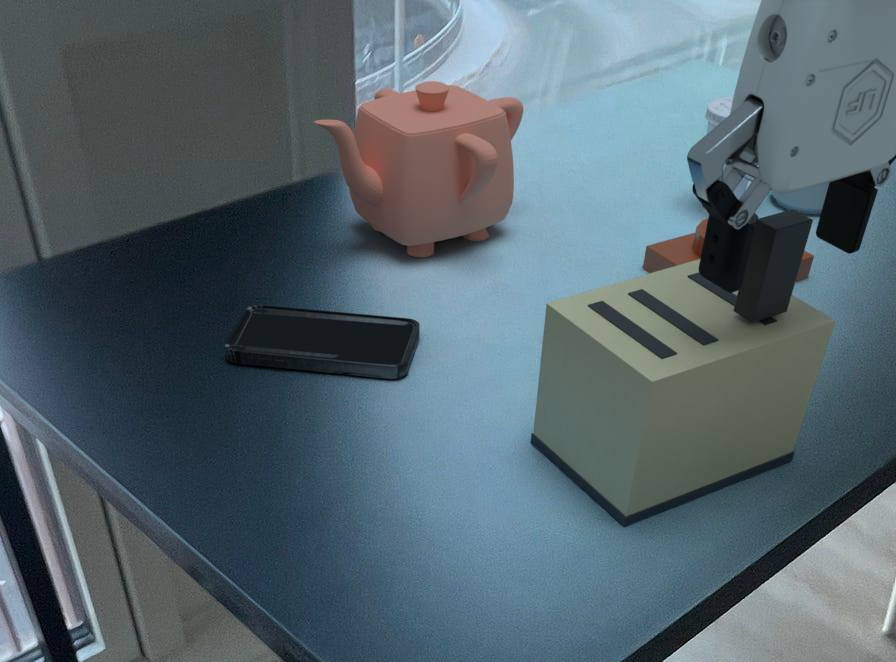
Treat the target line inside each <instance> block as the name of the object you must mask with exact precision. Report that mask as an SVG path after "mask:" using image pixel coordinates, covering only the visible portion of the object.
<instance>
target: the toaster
mask: <svg viewBox="0 0 896 662" xmlns="http://www.w3.org/2000/svg"><path fill="white" fill-rule="evenodd" d="M699 264H700V259H698V260H695V261H691V262H688V263H684V264H681V265H677V266H674V267H671V268H667V269H664V270H660V271H657V272H653V273H647V274H642V275H640V276H635V277H633V278H629V279H626V280H622V281H619V282H616V283H611V284H609V285H605V286H600V287H598V288H594V289H591V290H588V291H587V290H586V291H584V292H581V293H577V294H573V295H570V296H566V297H563V298H560V299H556V300H552V301H548V302H546V306H545V315H544V324H543V325H544V326H543V334H542V342H541V343H542V345H541V355H540V363H539V372H538V373H539V374H538V383H537V384H538V385H537V391H536V403H535V413H534V421H533V422H534V423H533V431H532V432H531V433H530V443H531V445H533V446H534V447H535V448H536V449H538V451H539V452H540V453H542V454H543V455H544V456H545V457H546V458H547V459H548V460H550V461H551V463H553V464H554V465H555V466H556V467H557V468H559V469H560V470H561V471H562V472H563V473H564V474H565V475H566V476H567V477H569V479H571V480H572V482H574V483H575V484H576V485H577V486H578V487H579V488H581V489H582V490H583V491H584V492H585V493H586V494H587V495H588V496H589V497H590V498H592V500H594V501H595V502H596V503H597V504H598V505H599V506H601V508H603V509H604V511H606V512H607V513H608V514H609V515H610V516H612V518H614V519H615V520H616V521H617V522H618V523H619V524H620V525H621V526H622V527H627V526H629V525H631V524H635V523H637V522H640V521H642V520H645V519H647V518H650V517H652V516H654V515H657V514H660V513H662V512H664V511H667V510H670V509H672V508H674V507H678V506H680V505H683V504H685V503H688V502H690V501H693V500H696V499H698V498H700V497H703V496H706V495H708V494H711V493H713V492H715V491H718V490H721V489H724V488H726V487H728V486H731V485H734V484H737V483H739V482H741V481H743V480H746V479H750V478H751V477H754V476H756V475H760V474H761V473H765V472H767V471H770V470H772V469H775V468H777V467H779V466H782V465H785V464H787V463H790V462H792V461H793V458H794V456H795V451H794V449H795V446H796V442H797V440H798V437H799V434H800V430H801V428H802V425H803V422H804V418H805V416H806V412H807V409H808V407H809V403H810V400H811V397H812V394H813V391H814V388H815V385H816V381H817V379H818V376H819V373H820V370H821V366H822V364H823V360H824V357H825V354H826V352H827V348H828V345H829V342H830V339H831V336H832V333H833V330H834V327H835V325H836V321H837V320H836V319H834V318H833V317H831V316H830V315H828V314H826V313H825V312H822V311H821V310H820V309H817V308H816V307H814V306H812V305H811V304H809V303H807V302H806V301H804V300H802V299H800V298H799V297H797V296H795V295H794V294H792V295H791V299H790V302H789V306H788V309H787V312H784V313H781V314H778V315H775V316H772V317H769V318H766V319H763V320H760V321H757V322H753V323H752V322H750V321H748V320H747V319H745V318H744V317H742V316H740V315H739V314H737V313H736V312H734V306H735V302H736V298H737V294H738V291H736V292H733V293H729V292H727V291H725V290H724V289H722V288H720V287H719V286H717V285H715V284H714V283H712V282H711V281H709V280H707V279H706V278H704V277H702V276H701V275H700V273H699Z"/></svg>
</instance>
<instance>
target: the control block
mask: <svg viewBox="0 0 896 662" xmlns="http://www.w3.org/2000/svg"><path fill="white" fill-rule="evenodd" d="M707 223H708V218H704V219H702V220H701V221H700V222H699V223H698V225H696V227H695V232H692V233H689V234H684V235H681V236H677V237H674V238H670V239H667V240H663V241H660V242H656V243H652V244H648V245H646V246H645V251H644V257H643V262H642V263H643V264H642V269H643V270H644V271H646V272H647V273H648V274H650V273H653V272H657V271H660V270H664V269H667V268H671V267H674V266H677V265H681V264H684V263H688V262H691V261H695V260H698V259H700V258H701V253H702V248H703V243H704V238H705V233H706V228H707ZM814 258H815V255H814V254H812V253H810V252H808V251H806V250H804V254H803V257H802V260H801V264H800V267H799V271H798V274H797V278H796V281H795V283H797V282H800V281H801V282H802V281H804V280H807V279H808V278H809V276H810V272H811V268H812V265H813V261H814Z"/></svg>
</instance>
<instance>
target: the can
mask: <svg viewBox="0 0 896 662" xmlns="http://www.w3.org/2000/svg"><path fill="white" fill-rule="evenodd" d="M828 186H829V182H828V183H825V184H821V185H818V186H814V187H811V188H808V189H804V190H800V191H796V192H792V193H780V192H777V191H775V190H773V189H772V190H771V191H770V194H771V195H772V197H773V198H774V199H775V201H776V203H777V204H778V205H779V206H780V207H781V208H783V209H785V210H786V211H788V210H791V209H793V210H795V211H797V212H799V213H801V214H803V215H821V211H822V208H823V204H824V200H825V197H826V193H827V190H828Z"/></svg>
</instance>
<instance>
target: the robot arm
mask: <svg viewBox="0 0 896 662" xmlns="http://www.w3.org/2000/svg"><path fill="white" fill-rule="evenodd" d="M732 97H733V101H732V106H731V111H730V115H729V116H728V117H727V118H725V119H724V120H723V121H722V122H721V123H720V124H718V125H717V126H716V127H715V128H714V129H712V130H711V131H710V132H709V133H708V134H707V133H706V134H705V135H704V136H702V138H701V139H699V140H698V141H697V142H696V143H695V144H694V145H692V146H691V147H690V149H689V150H688V152H687V156H686V160H687V166H688V169H689V174H690V177H691V181H692V183H693V184H692V188H691V190H692V193H693V195H694V196H695V197H696V199H697V200H698V201H699V202H700V205H701V204H702V210H703V211H704V212H706V213H708V214H709V215H708V214H707V215H708V218H707V219H708V223H707V228H706V233H705V238H704V243H703V248H702V253H701V258H700V264H699V273H700V275H701V276H702V277H704V278H706V279H707V280H709V281H711V282H712V283H714V284H715V285H717V286H719V287H720V288H722V289H724V290H725V291H727V292H729V293H733V292H736V291H738V290H740V288H741V286H742V283H743V279H744V274H745V270H746V266H747V261H748V257H749V253H750V248H751V244H752V240H753V235H754V228H755V227H753V226H751V225H750V224H748V223H747V222H748V221H749V220H750V218H751V217H752V216H753V214H754V213H755V214H756V211H758V209H759V208H760V206H761V205H762V204H763V202H764V201H765V199H766V198H767V196H768V195H769V194H770V193H771V190H772V189H773V190H775V191H777V192H780V193H792V192H796V191H800V190H804V189H808V188H811V187H814V186H818V185H821V184H825V183H828V182H829V186H828V190H827V193H826V197H825V200H824V204H823V208H822V211H821V214H819V219H818V223H817V226H816V230H815V236H816V237H817V238H818V239H819V240H822V241H824V242H825V243H827V244H829V245H831V246H833V247H835V248H837V249H839V250H841V251H843V252H844V253H846V254H848V255H849V254H853V253H856V252H859V250H860V248H861V247H862V242H863V239H864V237H865V233H866V230H867V227H868V224H869V221H870V217H871V214H872V211H873V207H874V204H875V201H876V197H877V195H878V191H879V187H882V186H884V184H885V183H886V182H887V181H888V180H889V178H890V175H891V171H892V170H891V165H892V164H893V163H894V161H895V160H896V0H761V1H760V4H759V6H758V10H757V12H756V15H755V18H754V20H753V24H752V27H751V31H750V34H749V37H748V41H747V43H746V48H745V51H744V55H743V58H742V62H741V65H740V69H739V72H738V77H737V81H736V85H735V88H734V93H733V96H732ZM724 163H725V164H726V165H727V166H726V168H725V169H724V170H723V165H724ZM743 178H745V179H747V180H749V181H748V182H750V183H749V185H747V187H746V190H745V192H744V193H743V195H742V196H741V197H740V199H739V200H738V199H737V197H736V196H735V195H734V193H733V191H734V190H735V188H736V187H737V186H738V184H739V183H740V181H741V180H742V179H743ZM876 187H878V188H876ZM702 210H701V211H702ZM703 211H702V212H703ZM704 212H703V213H704ZM706 213H705V214H706Z"/></svg>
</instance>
